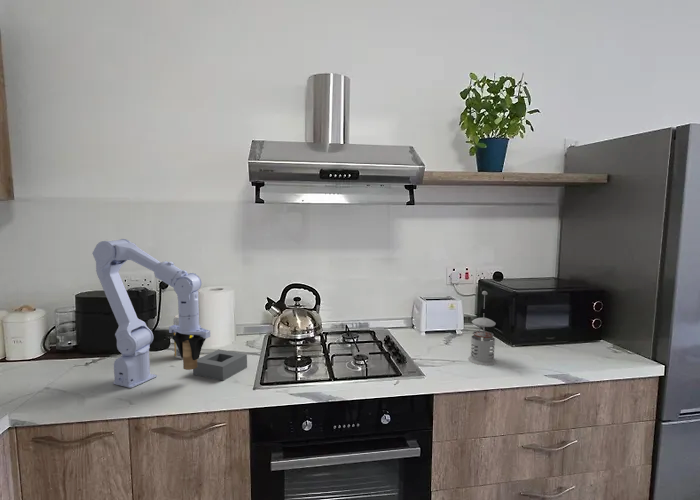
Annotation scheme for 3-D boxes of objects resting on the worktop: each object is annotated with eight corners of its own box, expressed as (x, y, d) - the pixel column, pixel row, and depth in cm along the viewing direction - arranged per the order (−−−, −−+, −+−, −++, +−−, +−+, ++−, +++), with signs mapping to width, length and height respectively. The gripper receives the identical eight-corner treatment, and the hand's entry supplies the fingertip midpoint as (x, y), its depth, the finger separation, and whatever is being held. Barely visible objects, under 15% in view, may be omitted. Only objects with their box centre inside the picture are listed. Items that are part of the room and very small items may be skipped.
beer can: (196, 354, 151) (194, 314, 149) (188, 360, 145) (186, 318, 143) (180, 353, 151) (178, 313, 150) (171, 359, 145) (169, 318, 144)
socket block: (223, 380, 127) (222, 366, 127) (193, 374, 132) (192, 361, 131) (247, 367, 138) (246, 354, 138) (218, 361, 143) (218, 349, 142)
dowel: (190, 370, 123) (189, 344, 122) (180, 368, 124) (179, 342, 123) (200, 366, 126) (199, 340, 126) (190, 363, 128) (189, 339, 127)
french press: (468, 363, 142) (470, 292, 140) (467, 352, 153) (469, 286, 151) (498, 366, 140) (501, 294, 137) (494, 354, 151) (497, 288, 149)
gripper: (216, 313, 124) (218, 357, 126) (180, 308, 130) (182, 350, 131) (200, 319, 118) (201, 365, 119) (162, 314, 124) (164, 357, 125)
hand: (190, 357), depth 125 cm, fingers closed on dowel, 4 cm apart
